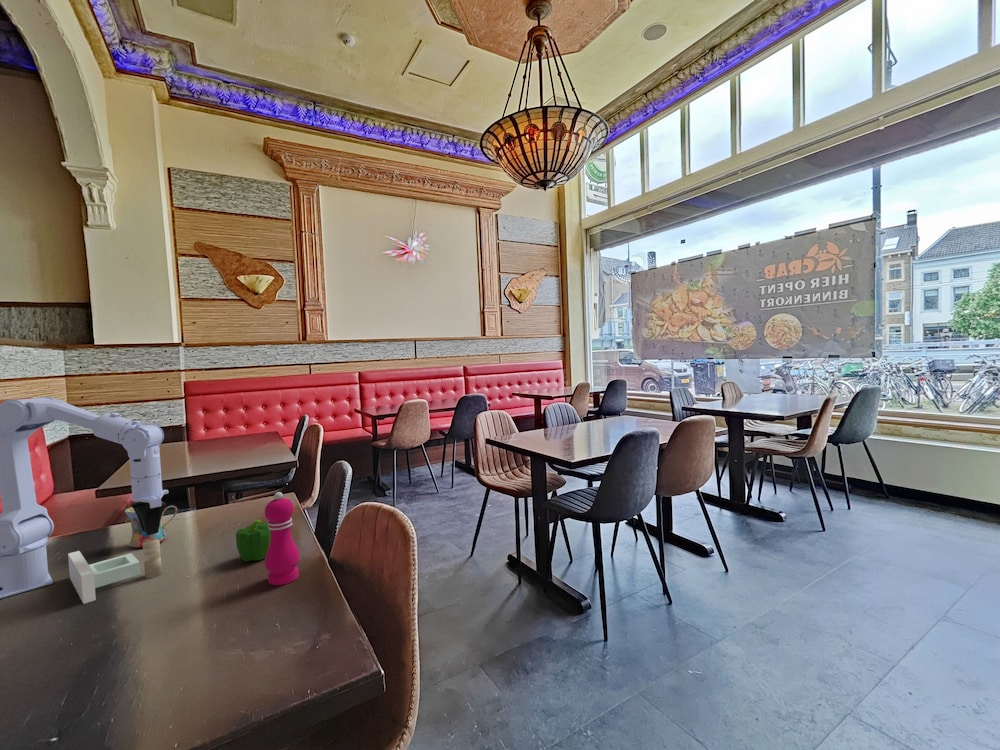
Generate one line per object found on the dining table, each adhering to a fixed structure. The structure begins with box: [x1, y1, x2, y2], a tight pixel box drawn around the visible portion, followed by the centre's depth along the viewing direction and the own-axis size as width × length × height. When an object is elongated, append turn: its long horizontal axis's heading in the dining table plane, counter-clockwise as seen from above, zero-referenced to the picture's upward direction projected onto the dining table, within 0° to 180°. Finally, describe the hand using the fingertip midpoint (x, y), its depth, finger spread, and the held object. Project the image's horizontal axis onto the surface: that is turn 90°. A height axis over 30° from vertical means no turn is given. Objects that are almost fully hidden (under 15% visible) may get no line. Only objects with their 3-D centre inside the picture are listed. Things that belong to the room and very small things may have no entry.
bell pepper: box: [235, 519, 271, 563], centre depth 117 cm, size 8×8×10 cm
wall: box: [67, 550, 97, 605], centre depth 104 cm, size 2×20×6 cm, turn 49°
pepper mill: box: [264, 491, 301, 586], centre depth 104 cm, size 7×7×20 cm
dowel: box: [142, 540, 163, 579], centre depth 109 cm, size 3×3×8 cm
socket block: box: [88, 552, 142, 589], centre depth 110 cm, size 9×9×3 cm
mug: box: [124, 501, 178, 549], centre depth 132 cm, size 12×9×11 cm
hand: (150, 532), depth 109 cm, fingers open, 3 cm apart
